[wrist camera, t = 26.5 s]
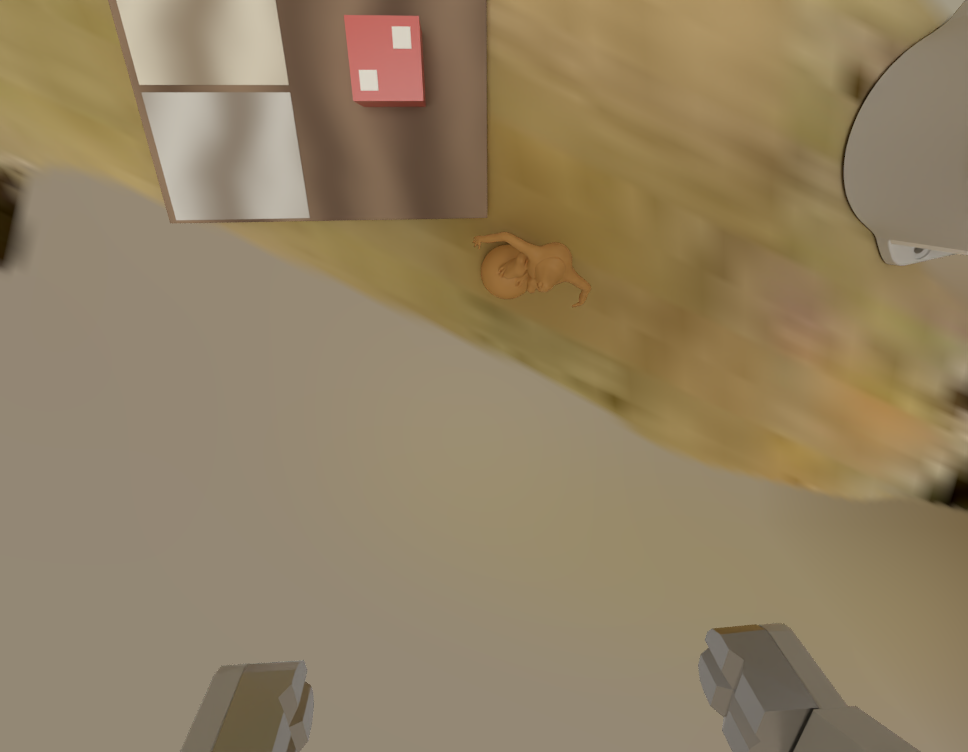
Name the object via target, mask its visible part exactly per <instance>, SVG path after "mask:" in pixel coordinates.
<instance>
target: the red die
mask: <svg viewBox="0 0 968 752" xmlns="http://www.w3.org/2000/svg"><path fill="white" fill-rule="evenodd" d="M344 22H345V31H346V40H347V49H348V58H349V67H350V77H351V86H352V95H353V101H354V102H356V103H358V104H360V105H361V106H363V107H426V100H425V81H424V62H423V43H422V30H421V25H420V19H419V16H392V15H344Z"/></svg>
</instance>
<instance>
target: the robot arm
mask: <svg viewBox="0 0 968 752" xmlns="http://www.w3.org/2000/svg"><path fill="white" fill-rule="evenodd" d="M844 184H845V190H846V195H847V198H848V201H849V203H850V206H851V208H852V210H853V211H854V213H855V214H856V216H857V217H858V218H859V220H860V221H861V222H862V223H863V224H864V225H866V226H867V227H868V228H869V229H870V230H871V231H872V232H873V234H874V235H875V236H876V239H877V244H878V247H879V251H880V254H881V257H882V259H883V260H884V262H886V263H887V264H890V265H898V266H904V265H909V264H914V263H918V262H923V261H927V260H932V259H936V258H941V257H945V256H950V255H954V254H962V255H968V0H965V1H964V3H963V4H962V5H961V6H960V7H959V8H958V10H957V11H956V12H955V13H954V15H953V16H952V17H951V18H950V19H949V20H948V21H947V22H946V23H945V24H944V25H943V26H941V27H940V28H938V29H937V30H936V31H934V32H933V33H931V34H930V35H928V36H927V37H925V38H924V39H922V40H921V41H919V42H918V43H916V44H915V45H914V46H912V47H911V48H910V49H909V50H907V51H906V52H905V53H904V54H903V55H902V56H901V57H900V58H898V59H897V60H896V61H895V62H894V63H893V64H892V65H891V66H890V68H889V69H888V70H887V71H886V72H885V73H884V74H883V76H882V77H881V78H880V79H879V81H878V82H877V83H876V85H875V86H874V88H873V89H872V90H871V92H870V94H869V95H868V97H867V98H866V100H865V102H864V104H863V105H862V107H861V109H860V111H859V113H858V115H857V118H856V120H855V122H854V125H853V128H852V130H851V133H850V136H849V140H848V144H847V148H846V153H845V160H844ZM915 247H916V248H915ZM705 641H706V643H707V645H708V647H709V648H708V649H707V650H706V651H704V652H703V653H702V654H701V656H700V661H699V665H698V667H699V676H700V681H701V684H702V687H703V690H704V693H705V695H706V698H707V700H708V702H709V704H710V706H711V707H712V708H714V709H715V710H716V711H717V712H718V713H719V714H721V715H722V716H723V717H724V719H723V728H722V731H723V733H724V735H725V737H726V739H727V741H728V744H729V746H730V748H731V750H732V751H733V752H920V751H919V750H918V749H916V748H915V747H913V746H912V745H910V744H909V743H908V742H906V741H905V740H903V739H902V738H901V737H899V736H898V735H896V734H895V733H893V732H892V731H890V730H889V729H888V728H886V727H885V726H883V725H882V724H881V723H879V722H878V721H876V720H875V719H874V718H872V717H871V716H869V715H868V714H866V713H865V712H863V711H862V710H861V709H859V708H858V707H856V706H848V705H847V704H846V703H845V701H844V700H843V699H842V697H841V696H840V695H839V693H838V692H837V691H836V689H835V688H834V687H833V685H832V684H831V682H830V681H829V680H828V678H827V677H826V676H825V674H824V673H823V672H822V670H821V669H820V668H819V666H818V665H817V664H816V662H815V661H814V659H813V658H812V657H811V655H810V654H809V653H808V651H807V650H806V648H805V647H804V646H803V644H802V643H801V642H800V640H799V639H798V638H797V636H796V635H795V634H794V632H793V631H792V630H791V628H789V627H788V626H787V625H785V624H782V623H774V624H764V625H744V626H735V627H724V628H714V629H711V630H709V631H708V632H707V635H706V638H705ZM306 674H307V668H306V665H305V662H304V660H303V661H288V662H272V663H257V664H238V665H226V666H221V667H220V668H219V670H218V671H217V672H216V674H215V675H214V676H213V678H212V681H211V683H210V685H209V688H208V690H207V692H206V694H205V696H204V699H203V701H202V703H201V705H200V708H199V710H198V712H197V715H196V717H195V719H194V721H193V724H192V726H191V728H190V730H189V732H188V735H187V737H186V739H185V742H184V744H183V746H182V749H181V751H180V752H299V751H300V750H301V749H302V748H303V747H304V745H305V744H306V743H307V742H308V739H309V735H310V730H311V725H312V717H313V708H314V702H313V701H314V700H313V691H312V687H311V685H310V684H308V683H307V682H305V678H306Z"/></svg>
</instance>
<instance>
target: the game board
mask: <svg viewBox="0 0 968 752" xmlns="http://www.w3.org/2000/svg"><path fill="white" fill-rule="evenodd" d="M108 2H109V5H110V9H111V12H112V16H113V20H114V23H115V27H116V30H117V34H118V38H119V41H120V45H121V48H122V52H123V55H124V59H125V63H126V66H127V70H128V73H129V77H130V81H131V84H132V88H133V91H134V95H135V98H136V102H137V106H138V109H139V113H140V116H141V120H142V124H143V127H144V131H145V134H146V138H147V141H148V145H149V149H150V152H151V156H152V159H153V163H154V167H155V170H156V174H157V177H158V181H159V185H160V188H161V192H162V195H163V199H164V202H165V206H166V210H167V213H168V217H169V220H170V223H217V222H274V221H331V220H388V219H446V218H487V26H486V0H108ZM344 15H392V16H419V19H420V25H421V30H422V43H423V62H424V81H425V100H426V107H363V106H361V105H360V104H358V103H356V102H354V101H353V95H352V86H351V77H350V67H349V58H348V49H347V40H346V31H345V22H344Z"/></svg>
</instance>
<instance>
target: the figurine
mask: <svg viewBox="0 0 968 752" xmlns="http://www.w3.org/2000/svg"><path fill="white" fill-rule="evenodd" d="M474 239H475V240H474V241H473V243H474V242H475V245H474V247H475V246H476V245H478V249H480V246H481V242H485V243H493V242H497V241H499V242H504V241H505V242H507V243H509V244H510V245H501V246H498V247H496V248H494V249H493V250H491V251H490V252H489V253H488V254H487V255H486V257H485V258H484V260H483V263H482V267H481V278H482V281H483V284H484V286H485V287H486V289H487V290H488V291H489V292H490V293H491V294H493V295H494V296H496V297H498V298H502V299H512V298H516V297H518V296H520V295H522V294H523V293H525V292H526V291H528V292H529V293H533V292H535V290H536V289H537V290H538V291H539V292H547V291H549V290H550V289H551V288H552V287H553V286H554V285H556V284H559V283H562V282H569V283H572V284H573V285H574V286H576V287H578V288H580V289H582V291H581V293H580V296H579V302H578V303H576V304H574V305H572V307H576V306H579V305H582V304H583V303H584V302H585V300H586V298H587V295H588V293H589V292H590V290H591V286H590V284H589V283H588V282H587V281H585V280H584V279H583V278H582V277H581V276H579V275H578V274H577V273H576V271H575V270H574V269H573V267H572V255H571V252H570V250H569V249H568V248H567V247H566V246H565V245H563V244H561V243H555V242H554V243H548V244H545V245H542V246H536V245H533V244H530V243H528V242H526V241H524V240H522V239H520V238H519V237H517V236H515V235H513V234H510V233H508V232H500V233H497V234H490V235H486V236H475V237H474Z"/></svg>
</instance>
